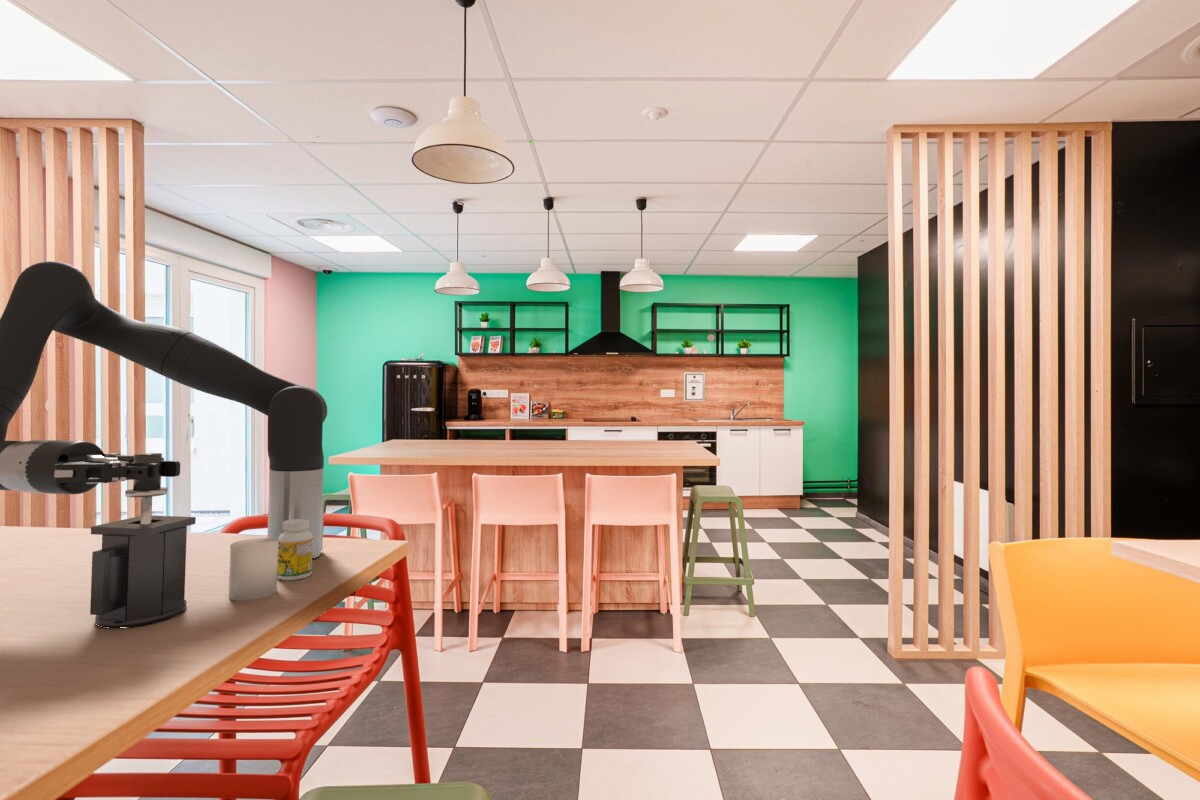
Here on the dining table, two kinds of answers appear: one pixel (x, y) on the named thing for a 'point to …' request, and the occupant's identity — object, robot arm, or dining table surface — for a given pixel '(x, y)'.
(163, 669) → the dining table surface
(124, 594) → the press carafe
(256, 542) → the white rounded cylinder
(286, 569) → the supplement bottle
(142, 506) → the plunger
